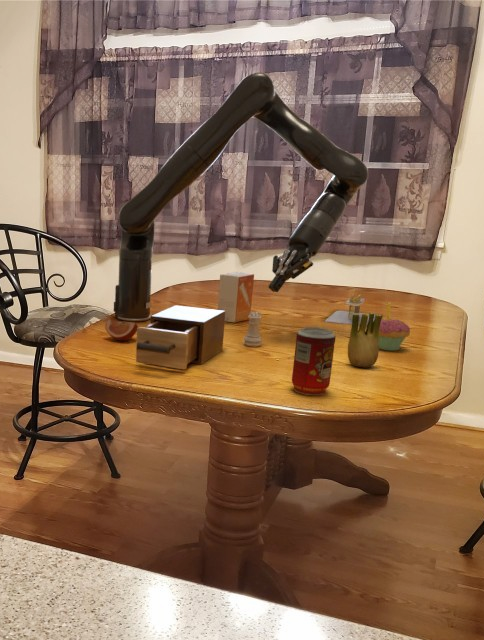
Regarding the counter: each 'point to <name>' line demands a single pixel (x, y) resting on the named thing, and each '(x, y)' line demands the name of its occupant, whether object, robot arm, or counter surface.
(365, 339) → the fennel bulb
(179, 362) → the drawer
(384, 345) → the cupcake
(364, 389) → the counter surface
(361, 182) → the robot arm
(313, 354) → the red food can
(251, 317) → the rook chess piece
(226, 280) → the small box
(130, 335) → the fruit slice
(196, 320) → the cabinet
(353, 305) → the platform
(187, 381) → the counter surface
